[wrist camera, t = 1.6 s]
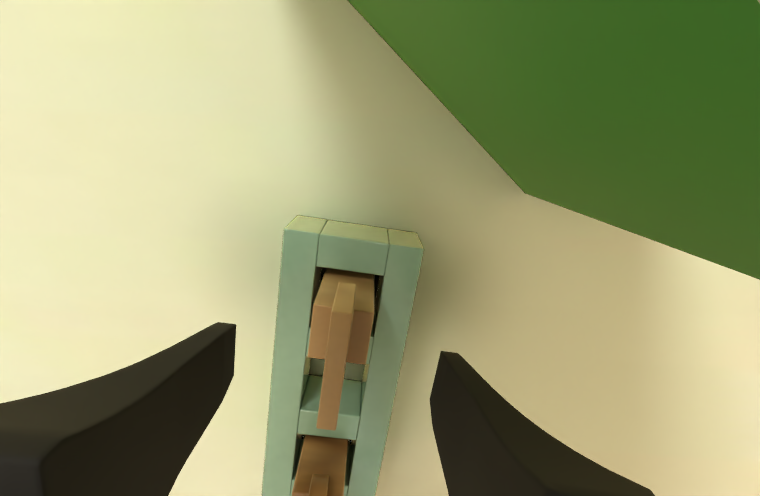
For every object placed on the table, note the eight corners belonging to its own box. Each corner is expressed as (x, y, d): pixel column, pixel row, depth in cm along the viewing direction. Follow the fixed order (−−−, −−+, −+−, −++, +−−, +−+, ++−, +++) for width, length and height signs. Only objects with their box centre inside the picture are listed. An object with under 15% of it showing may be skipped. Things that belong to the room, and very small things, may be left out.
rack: (274, 455, 24) (261, 499, 21) (296, 214, 19) (283, 228, 16) (372, 465, 24) (372, 510, 21) (416, 232, 20) (424, 249, 17)
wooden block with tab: (307, 443, 24) (272, 605, 15) (313, 391, 22) (279, 536, 14) (344, 447, 24) (329, 610, 16) (352, 396, 23) (341, 542, 14)
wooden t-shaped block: (323, 314, 21) (291, 426, 13) (332, 236, 20) (304, 307, 11) (365, 319, 21) (359, 434, 13) (377, 243, 20) (380, 317, 12)
